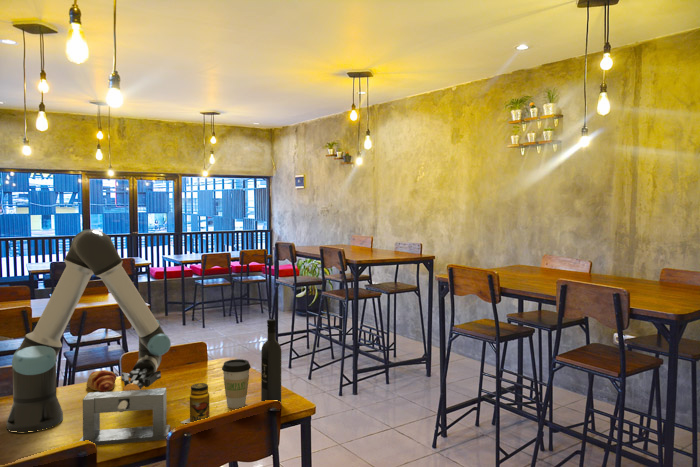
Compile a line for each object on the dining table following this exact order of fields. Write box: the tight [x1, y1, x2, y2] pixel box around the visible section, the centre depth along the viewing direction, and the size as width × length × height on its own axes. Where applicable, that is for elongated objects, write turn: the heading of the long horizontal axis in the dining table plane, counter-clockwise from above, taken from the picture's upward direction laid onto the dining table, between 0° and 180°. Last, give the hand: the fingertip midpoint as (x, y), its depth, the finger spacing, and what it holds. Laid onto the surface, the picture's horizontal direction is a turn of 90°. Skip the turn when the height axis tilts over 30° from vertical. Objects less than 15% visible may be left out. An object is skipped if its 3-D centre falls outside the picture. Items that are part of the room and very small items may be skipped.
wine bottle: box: [260, 318, 283, 403], centre depth 178 cm, size 6×6×30 cm
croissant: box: [86, 369, 117, 392], centre depth 195 cm, size 21×10×8 cm, turn 38°
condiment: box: [180, 382, 210, 425], centre depth 163 cm, size 7×8×12 cm
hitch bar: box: [79, 387, 171, 446], centre depth 151 cm, size 24×8×13 cm, turn 102°
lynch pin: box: [117, 383, 140, 413], centre depth 152 cm, size 5×14×5 cm, turn 12°
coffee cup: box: [221, 358, 251, 409], centre depth 177 cm, size 10×10×15 cm
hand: (132, 391), depth 159 cm, fingers closed
